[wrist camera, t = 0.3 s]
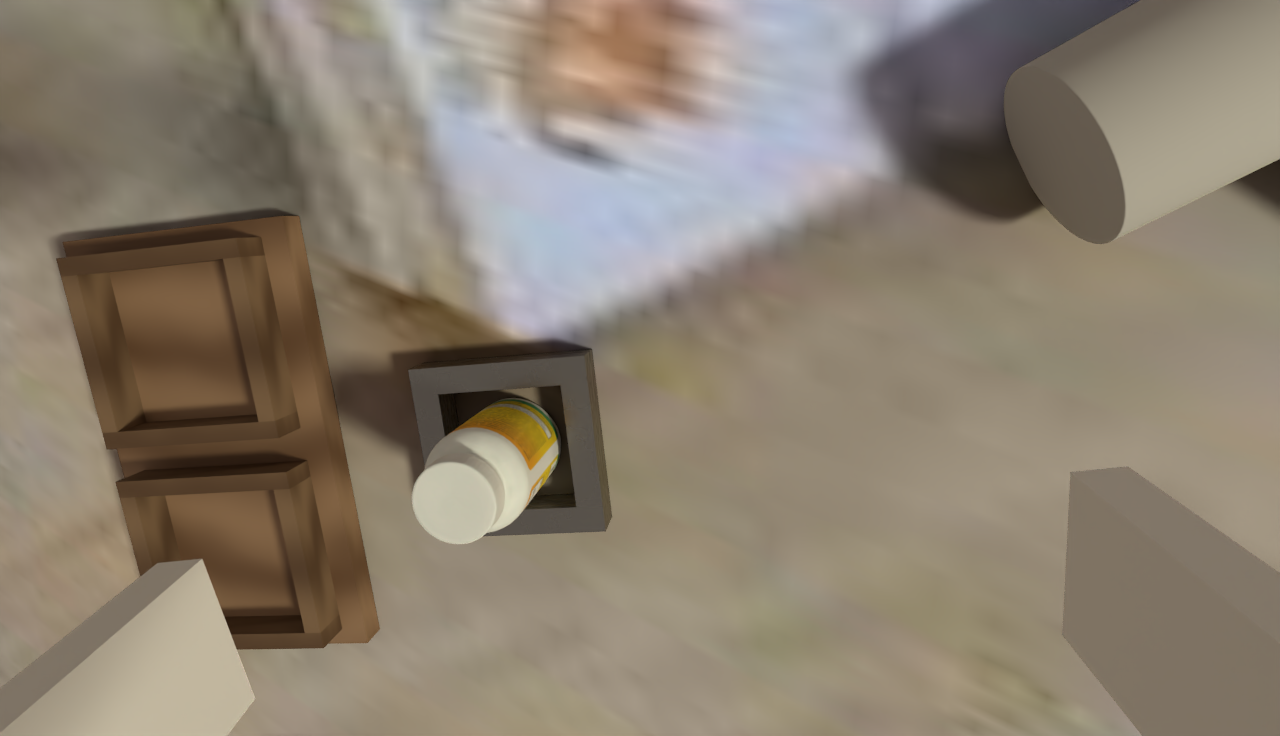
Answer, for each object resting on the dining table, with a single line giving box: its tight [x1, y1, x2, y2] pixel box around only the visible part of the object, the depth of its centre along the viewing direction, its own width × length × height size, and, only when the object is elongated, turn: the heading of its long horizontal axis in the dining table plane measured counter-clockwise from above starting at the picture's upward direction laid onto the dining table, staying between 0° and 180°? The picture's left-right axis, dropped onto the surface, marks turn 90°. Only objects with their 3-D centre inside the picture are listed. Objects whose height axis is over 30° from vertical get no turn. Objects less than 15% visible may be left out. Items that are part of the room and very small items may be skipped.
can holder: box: [408, 349, 612, 536], centre depth 39 cm, size 10×10×2 cm
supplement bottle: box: [412, 398, 561, 544], centre depth 35 cm, size 5×5×10 cm
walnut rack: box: [57, 216, 380, 649], centre depth 41 cm, size 26×14×4 cm, turn 6°
